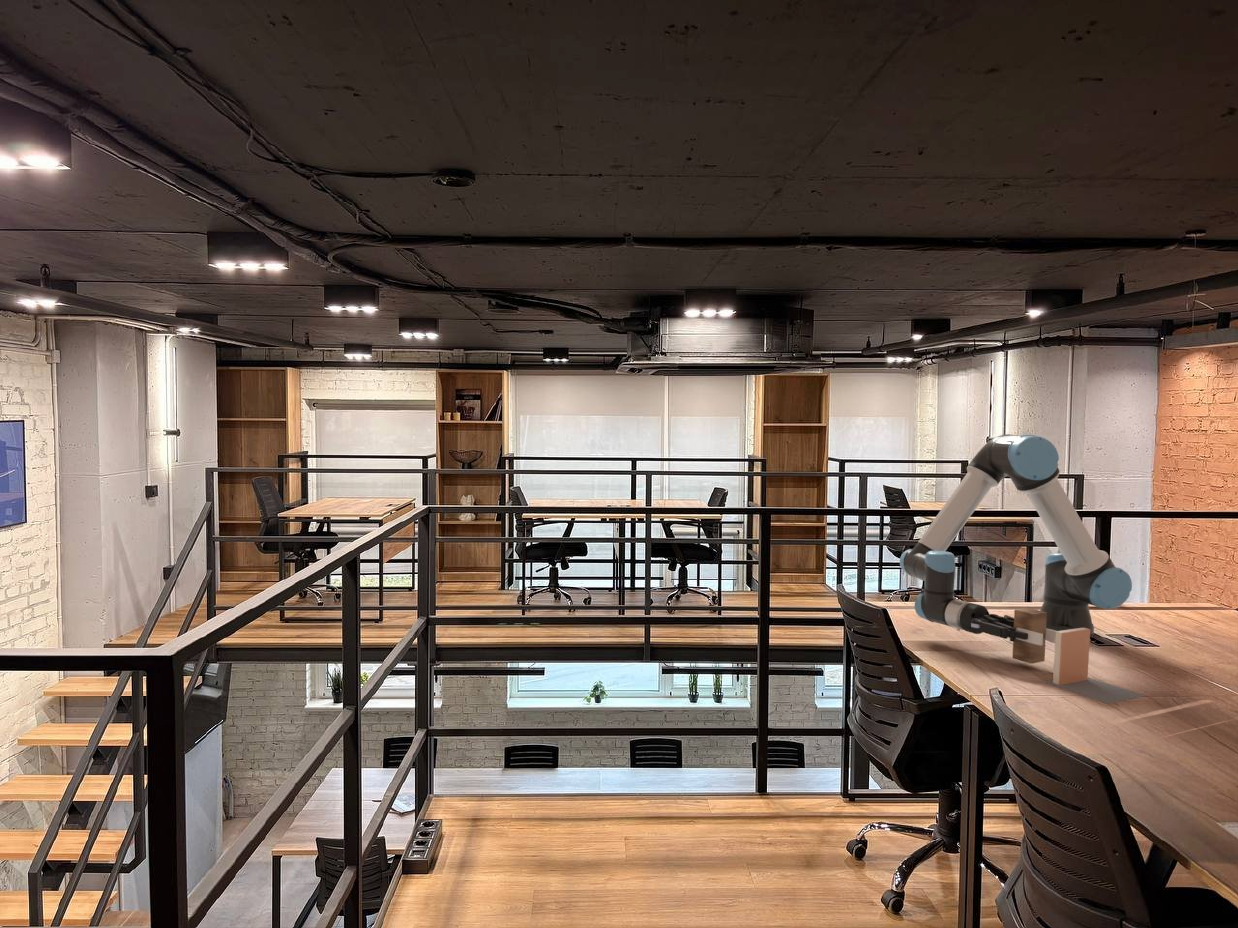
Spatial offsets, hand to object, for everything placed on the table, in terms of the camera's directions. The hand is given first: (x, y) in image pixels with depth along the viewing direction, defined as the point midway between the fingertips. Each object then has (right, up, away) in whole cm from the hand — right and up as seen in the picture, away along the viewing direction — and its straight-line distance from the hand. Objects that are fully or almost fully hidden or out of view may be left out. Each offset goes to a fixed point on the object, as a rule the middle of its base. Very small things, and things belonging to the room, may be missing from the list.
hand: (1049, 638), depth 195 cm
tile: (+2, -9, -5) cm, 10 cm away
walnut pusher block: (-2, -6, +5) cm, 8 cm away
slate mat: (+5, -10, -10) cm, 15 cm away
